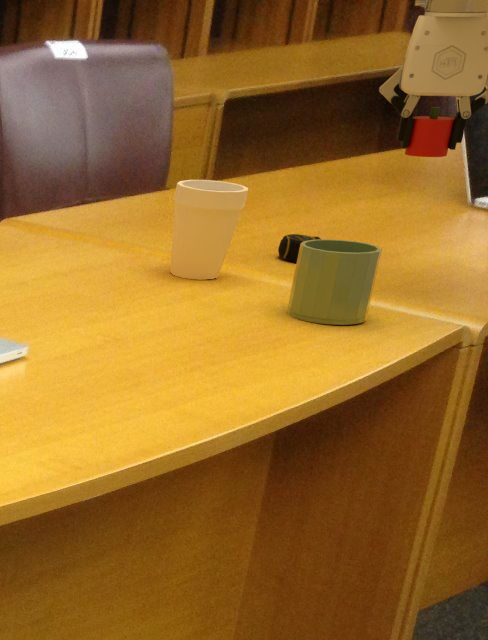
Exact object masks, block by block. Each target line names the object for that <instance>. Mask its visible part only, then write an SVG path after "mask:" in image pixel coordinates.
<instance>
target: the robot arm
mask: <svg viewBox="0 0 488 640" xmlns="http://www.w3.org/2000/svg"><path fill="white" fill-rule="evenodd" d="M414 6H415V7H417V6H418V7H420V8H423V9H424V14H422V15H421V14H420V15H418V17H417V19H416V21H415V24H414V27H413V29H412V33H411V36H410V37H409V42H408V44H407V48H406V52H405V55H404V59H403V63H402V66H401V67H400V68H398V70H397V71H396V72H395V73H393V75H391V76H390V77H389V78H388V79H387V80H386V81H384V83H383V84H381V85H380V86H379V88H378V91H379V93H380V94H381V95H382V96H383V97H384V98H385V99H386V100H387V101H388V102H389V103H390V104H391V105H392V106H393V108H394V109H395V110H396V111H397V112H398V114H399V115H400V120H399V124H398V129H397V134H396V139H395V140H396V142H399V147H400V148H401V149H406V148H407V147H408V146H409V141H410V136H411V131H412V127H413V122H414V118H412V117H414V116H413V115H414V113H413V111H414V109H415V107H416V106H417V104H418V103H419V100H420V98H421V96H423V97H425V96H426V97H427V96H429V97H430V96H431V97H432V96H433V97H456V98H455V99H456V106H457V107H456V108H457V112H456V113H455V116H454V117H453V118H454V119H455V120H454V125H453V129H452V134H451V138H450V143H449V147H448V150H450V151H451V150H452V151H456V149H457V148H456V147H457V144H461V143H462V142H463V137H464V133H465V129H466V124H467V119H469V118H470V117H471V116H472V115H473V114H475V113H476V112H477V111H479V110H480V109H481V108H483V107H484V106H485V105H486V104H488V0H415V1H414ZM396 86H398V87H399V89H400V90H401V91H403V92H404V93H405V94H407V95H406V97H405V98H404V100H403V99H402V98H401V97H400V96H399V95H398V94H397V93H396V91H395V88H396ZM484 89H485V91H484ZM483 91H484V92H483ZM480 93H482V94H480ZM479 94H480V95H479ZM476 95H479V96H477V97H475V98H474V99H472V100H471V98H470V97H473V96H476Z"/></svg>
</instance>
